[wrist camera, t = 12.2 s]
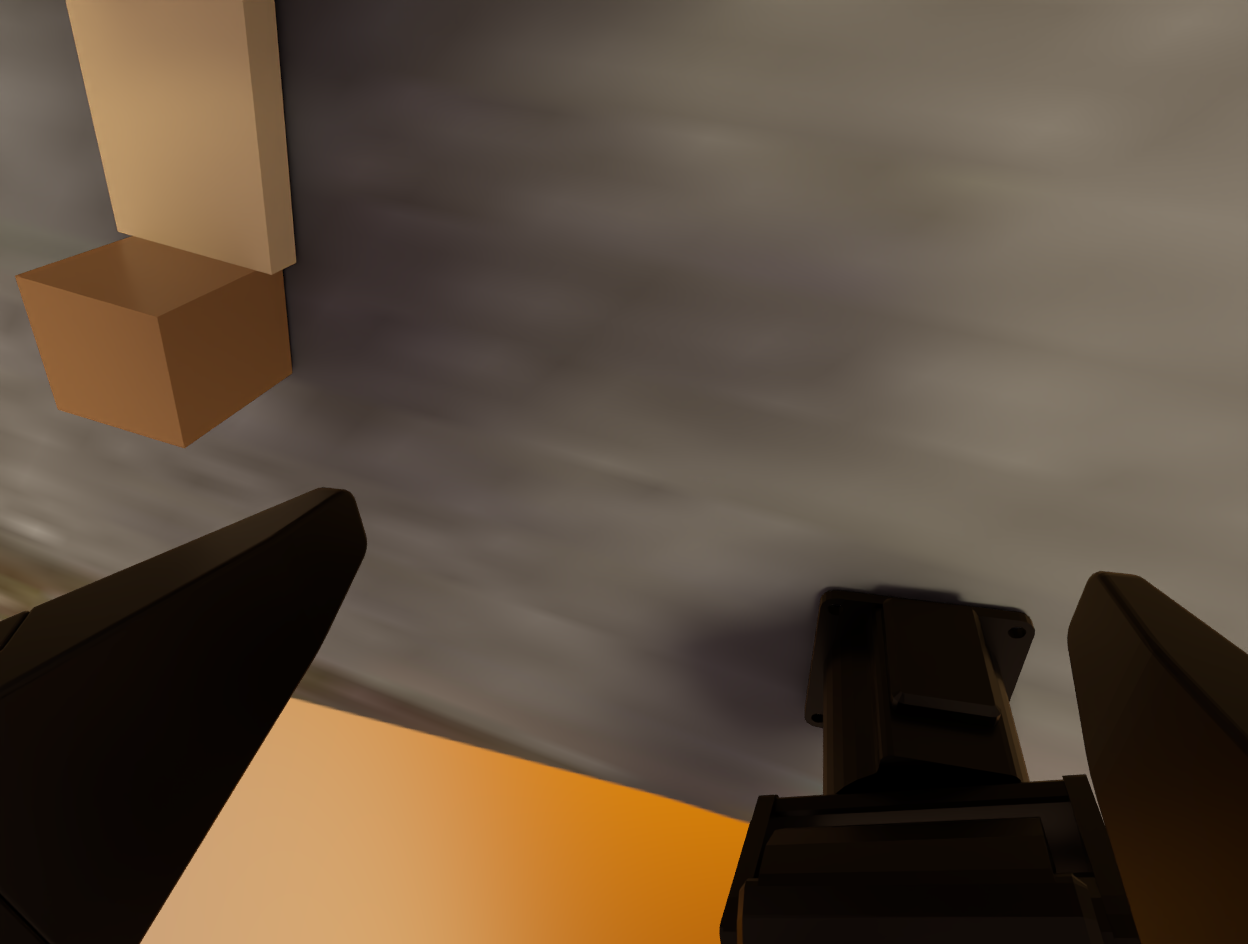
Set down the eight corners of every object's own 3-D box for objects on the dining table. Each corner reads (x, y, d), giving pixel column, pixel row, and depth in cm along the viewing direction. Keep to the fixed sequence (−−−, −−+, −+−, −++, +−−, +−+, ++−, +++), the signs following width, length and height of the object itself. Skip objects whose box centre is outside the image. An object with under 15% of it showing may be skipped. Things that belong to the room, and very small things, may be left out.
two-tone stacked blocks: (306, 377, 24) (200, 453, 20) (172, 338, 25) (42, 404, 20) (247, -327, 15) (23, -455, 11) (30, -372, 15) (-264, -510, 11)
